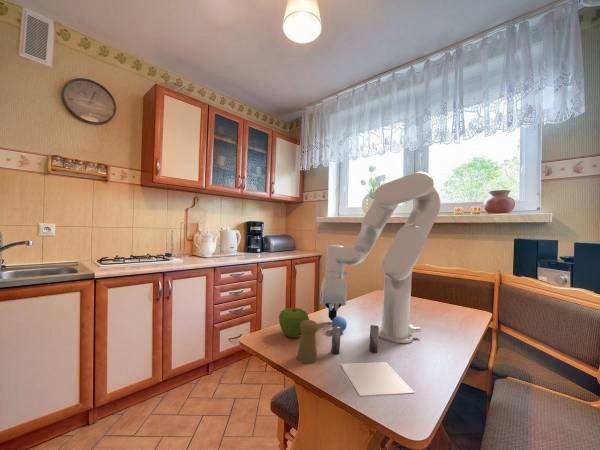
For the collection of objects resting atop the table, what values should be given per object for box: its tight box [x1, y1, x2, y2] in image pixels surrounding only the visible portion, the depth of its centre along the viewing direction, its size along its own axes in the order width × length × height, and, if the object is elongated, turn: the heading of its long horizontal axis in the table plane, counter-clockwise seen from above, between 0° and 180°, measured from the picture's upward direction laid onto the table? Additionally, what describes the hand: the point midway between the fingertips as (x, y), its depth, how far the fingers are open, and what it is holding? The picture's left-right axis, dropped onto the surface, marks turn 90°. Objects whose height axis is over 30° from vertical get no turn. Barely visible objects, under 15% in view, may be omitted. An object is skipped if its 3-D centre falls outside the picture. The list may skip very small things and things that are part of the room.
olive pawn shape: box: [296, 319, 318, 365], centre depth 77 cm, size 6×6×11 cm
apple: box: [278, 307, 310, 339], centre depth 92 cm, size 11×10×10 cm
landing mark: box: [340, 361, 415, 397], centre depth 69 cm, size 14×14×1 cm
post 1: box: [330, 325, 342, 355], centre depth 81 cm, size 3×3×8 cm
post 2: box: [368, 324, 380, 354], centre depth 83 cm, size 3×3×8 cm
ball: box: [331, 315, 348, 333], centre depth 98 cm, size 6×6×6 cm
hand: (332, 319), depth 107 cm, fingers closed
